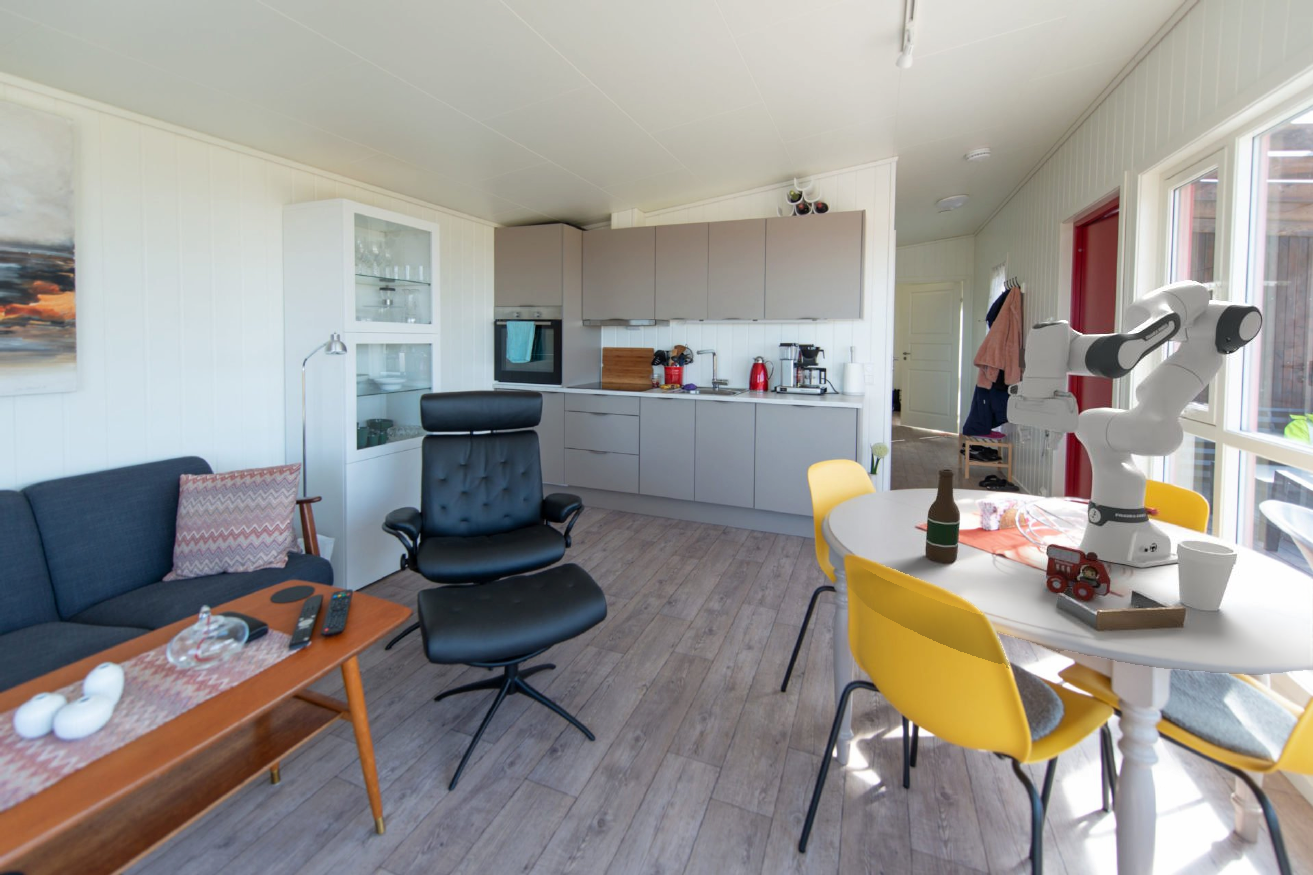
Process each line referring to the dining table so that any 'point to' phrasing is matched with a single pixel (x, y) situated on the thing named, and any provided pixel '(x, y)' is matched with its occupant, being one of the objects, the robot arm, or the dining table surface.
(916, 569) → the dining table surface
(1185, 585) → the foam cup
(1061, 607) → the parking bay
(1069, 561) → the toy fire truck
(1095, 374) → the robot arm
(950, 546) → the beer bottle
